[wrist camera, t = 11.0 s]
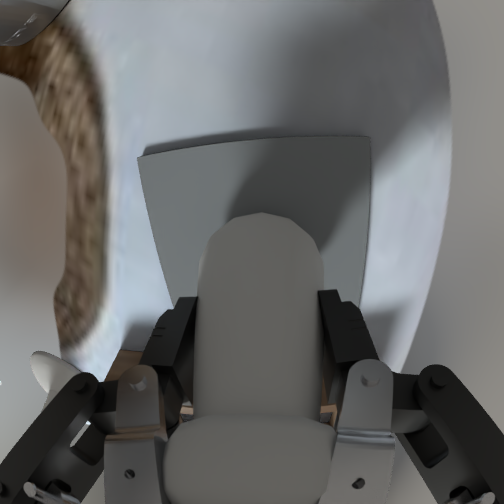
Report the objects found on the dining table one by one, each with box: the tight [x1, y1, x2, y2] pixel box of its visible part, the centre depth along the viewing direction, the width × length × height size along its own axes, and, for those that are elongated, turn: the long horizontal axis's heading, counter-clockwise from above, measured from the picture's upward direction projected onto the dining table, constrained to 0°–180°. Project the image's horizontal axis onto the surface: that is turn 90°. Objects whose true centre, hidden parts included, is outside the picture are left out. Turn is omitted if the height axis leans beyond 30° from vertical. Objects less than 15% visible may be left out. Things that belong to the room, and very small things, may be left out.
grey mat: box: [137, 136, 371, 307], centre depth 15 cm, size 12×12×1 cm
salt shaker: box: [162, 212, 337, 504], centre depth 9 cm, size 6×6×13 cm
